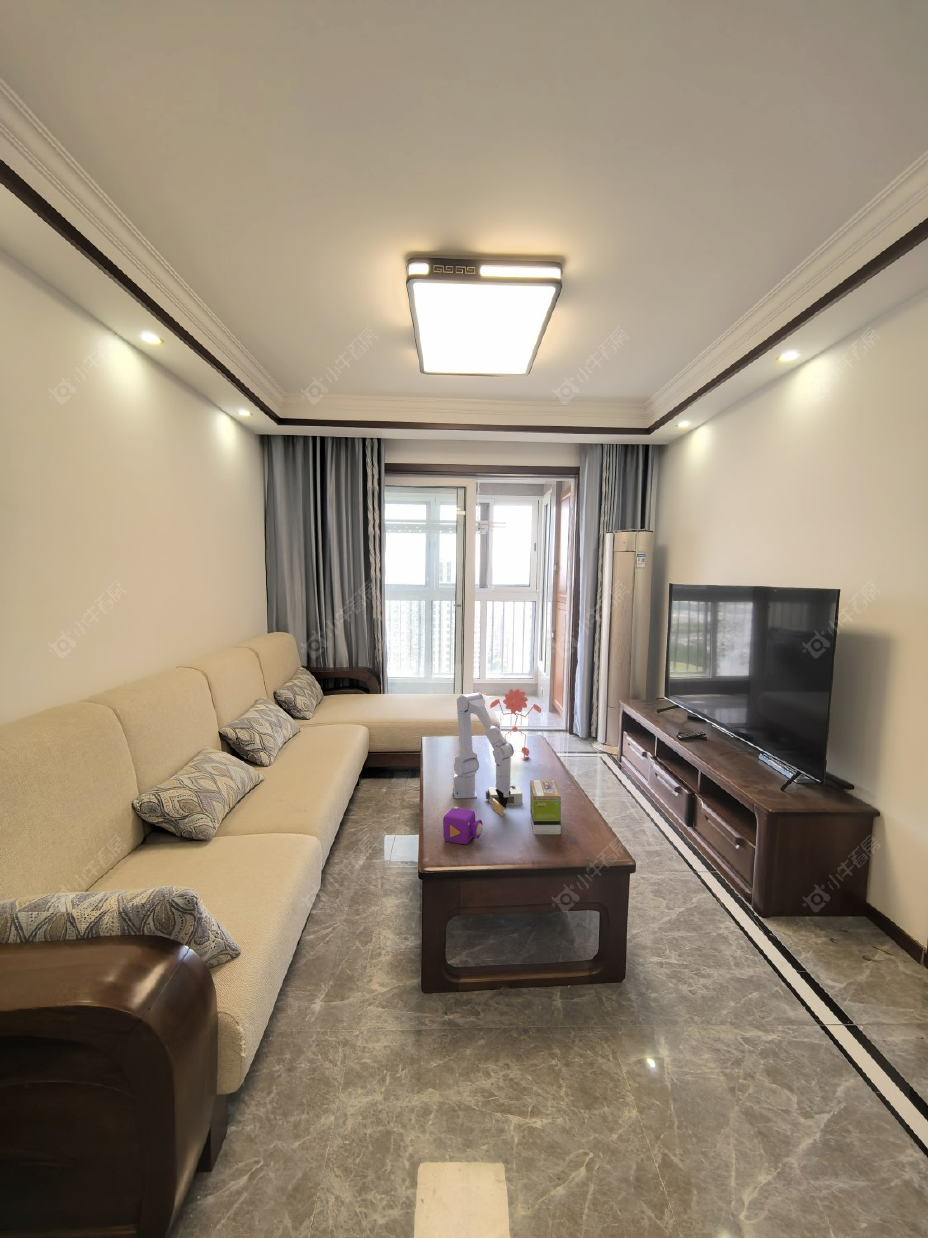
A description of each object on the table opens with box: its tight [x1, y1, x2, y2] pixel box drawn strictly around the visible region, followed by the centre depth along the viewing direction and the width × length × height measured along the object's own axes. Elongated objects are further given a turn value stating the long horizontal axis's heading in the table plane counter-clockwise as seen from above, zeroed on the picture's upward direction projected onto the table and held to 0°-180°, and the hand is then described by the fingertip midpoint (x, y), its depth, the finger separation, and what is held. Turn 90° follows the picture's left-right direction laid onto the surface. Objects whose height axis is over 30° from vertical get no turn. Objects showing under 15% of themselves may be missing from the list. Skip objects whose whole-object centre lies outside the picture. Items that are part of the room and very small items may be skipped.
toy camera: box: [442, 805, 483, 845], centre depth 191 cm, size 11×14×10 cm
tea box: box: [529, 779, 562, 835], centre depth 201 cm, size 15×10×15 cm, turn 178°
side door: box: [490, 797, 505, 817], centre depth 213 cm, size 10×1×4 cm, turn 22°
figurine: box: [489, 688, 542, 761], centre depth 277 cm, size 15×26×35 cm, turn 86°
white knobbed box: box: [485, 785, 523, 806], centre depth 223 cm, size 14×8×5 cm, turn 96°
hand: (503, 807), depth 213 cm, fingers closed
